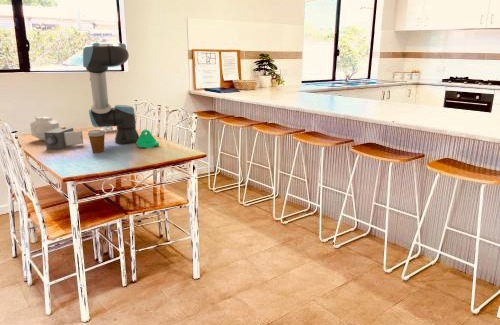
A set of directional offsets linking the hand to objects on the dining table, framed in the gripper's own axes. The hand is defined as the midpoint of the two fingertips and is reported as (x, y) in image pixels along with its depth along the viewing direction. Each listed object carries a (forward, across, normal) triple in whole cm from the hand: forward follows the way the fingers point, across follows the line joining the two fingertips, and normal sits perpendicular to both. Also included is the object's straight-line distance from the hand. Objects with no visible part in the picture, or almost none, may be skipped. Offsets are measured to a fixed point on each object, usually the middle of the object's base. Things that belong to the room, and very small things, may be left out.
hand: (98, 102), depth 272 cm
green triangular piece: (+28, -46, 0) cm, 54 cm away
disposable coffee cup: (+31, -31, +24) cm, 50 cm away
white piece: (+19, +17, -20) cm, 32 cm away
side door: (+27, -7, +24) cm, 37 cm away
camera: (+25, +22, +24) cm, 41 cm away
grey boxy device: (+28, 0, +29) cm, 40 cm away
